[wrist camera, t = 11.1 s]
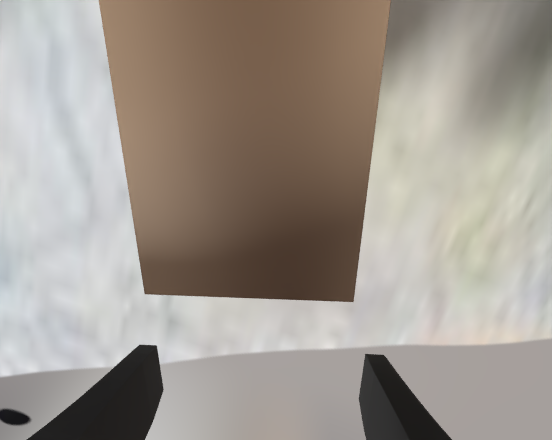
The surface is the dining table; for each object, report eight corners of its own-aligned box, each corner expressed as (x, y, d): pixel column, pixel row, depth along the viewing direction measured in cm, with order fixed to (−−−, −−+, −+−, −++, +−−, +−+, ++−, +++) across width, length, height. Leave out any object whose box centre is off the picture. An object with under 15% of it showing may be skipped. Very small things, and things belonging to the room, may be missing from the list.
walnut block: (210, 208, 12) (144, 294, 7) (190, -124, 9) (15, -531, 3) (323, 211, 12) (353, 302, 6) (348, -125, 9) (459, -553, 3)
